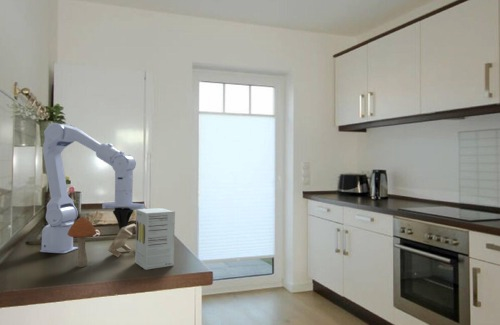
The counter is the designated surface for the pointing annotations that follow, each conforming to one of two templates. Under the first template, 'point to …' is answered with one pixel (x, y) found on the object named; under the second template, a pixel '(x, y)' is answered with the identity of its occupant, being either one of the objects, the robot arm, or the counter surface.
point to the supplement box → (154, 238)
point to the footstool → (122, 239)
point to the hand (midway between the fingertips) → (123, 230)
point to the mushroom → (82, 237)
